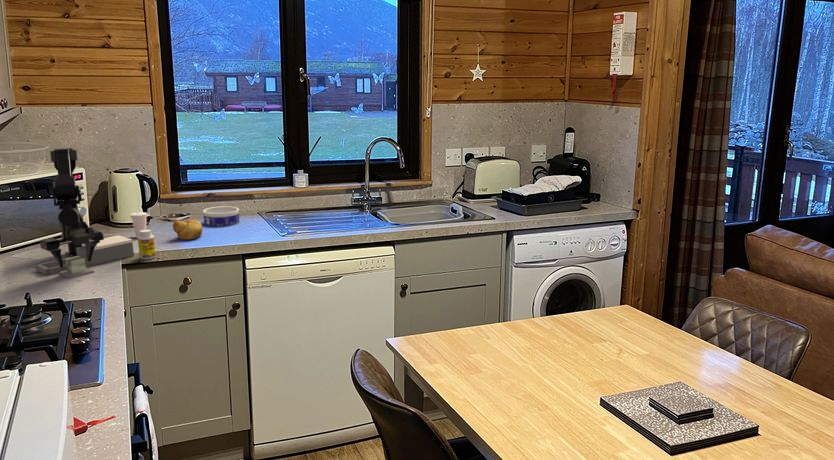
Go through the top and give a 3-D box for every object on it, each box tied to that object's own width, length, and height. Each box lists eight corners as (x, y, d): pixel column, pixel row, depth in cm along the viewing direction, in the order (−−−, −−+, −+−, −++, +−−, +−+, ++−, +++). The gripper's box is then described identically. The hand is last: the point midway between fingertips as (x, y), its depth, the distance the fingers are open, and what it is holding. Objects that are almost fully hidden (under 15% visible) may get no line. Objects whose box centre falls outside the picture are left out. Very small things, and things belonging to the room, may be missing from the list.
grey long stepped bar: (36, 270, 235) (34, 256, 234) (122, 251, 258) (120, 238, 257) (47, 275, 230) (45, 261, 229) (133, 255, 252) (132, 242, 251)
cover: (81, 245, 247) (80, 237, 246) (119, 237, 257) (118, 230, 256) (94, 250, 240) (93, 242, 240) (132, 242, 251) (131, 234, 250)
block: (67, 271, 232) (65, 258, 231) (80, 268, 235) (78, 255, 234) (72, 274, 229) (71, 261, 228) (86, 270, 232) (84, 258, 231)
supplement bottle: (141, 260, 246) (138, 233, 244) (138, 257, 251) (135, 230, 248) (157, 258, 249) (155, 231, 247) (154, 254, 254) (151, 228, 251)
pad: (59, 273, 232) (59, 271, 232) (83, 267, 238) (83, 266, 238) (70, 278, 227) (69, 276, 227) (94, 272, 233) (93, 270, 233)
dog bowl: (247, 221, 306) (246, 208, 305) (220, 228, 294) (219, 214, 292) (223, 217, 314) (222, 204, 313) (196, 224, 301) (195, 211, 300)
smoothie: (152, 235, 281) (149, 202, 278) (140, 239, 275) (137, 205, 272) (141, 234, 284) (137, 201, 280) (129, 237, 278) (125, 204, 275)
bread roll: (189, 232, 286) (188, 214, 284) (210, 234, 284) (208, 215, 282) (171, 240, 274) (169, 221, 272) (192, 241, 272) (191, 222, 270)
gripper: (51, 228, 216) (57, 275, 220) (108, 218, 230) (114, 262, 233) (36, 223, 223) (43, 269, 227) (93, 213, 237) (98, 256, 240)
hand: (75, 264), depth 232 cm, fingers open, 9 cm apart
